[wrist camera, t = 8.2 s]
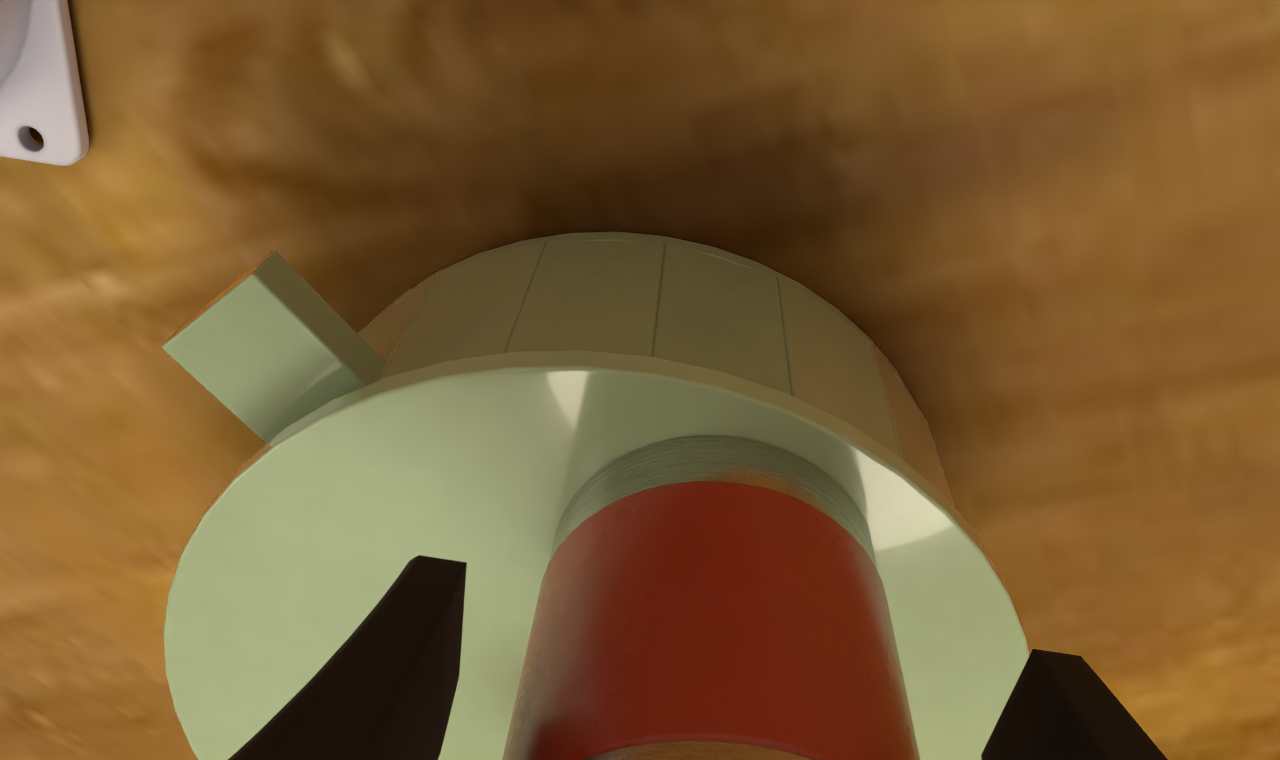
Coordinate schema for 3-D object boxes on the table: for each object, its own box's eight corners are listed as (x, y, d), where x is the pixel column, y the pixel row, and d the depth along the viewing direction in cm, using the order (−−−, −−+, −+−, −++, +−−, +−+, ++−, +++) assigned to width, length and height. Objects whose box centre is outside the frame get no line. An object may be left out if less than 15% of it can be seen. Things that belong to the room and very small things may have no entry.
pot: (627, 844, 32) (610, 1049, 26) (94, 379, 24) (-78, 542, 19) (1097, 651, 26) (1191, 864, 21) (605, -40, 18) (560, 29, 13)
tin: (536, 657, 18) (448, 1084, 12) (566, 407, 15) (469, 805, 9) (832, 701, 18) (889, 1147, 12) (916, 461, 15) (1042, 888, 9)
